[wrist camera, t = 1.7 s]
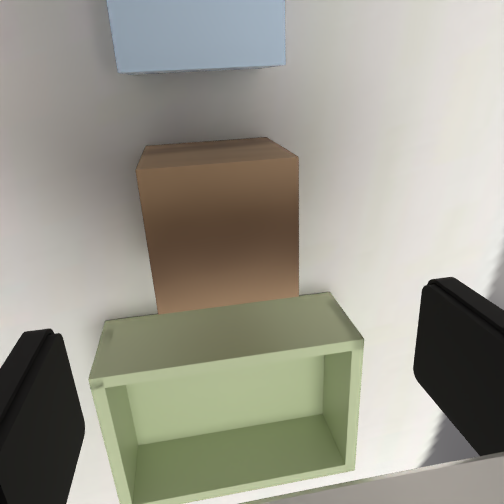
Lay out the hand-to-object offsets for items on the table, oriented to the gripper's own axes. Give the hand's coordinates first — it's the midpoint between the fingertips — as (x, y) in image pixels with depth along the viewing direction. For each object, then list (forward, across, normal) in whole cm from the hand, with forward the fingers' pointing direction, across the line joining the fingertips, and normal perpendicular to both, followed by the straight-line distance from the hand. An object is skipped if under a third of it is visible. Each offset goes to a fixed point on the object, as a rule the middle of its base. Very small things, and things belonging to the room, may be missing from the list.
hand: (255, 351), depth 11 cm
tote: (+13, 0, +10) cm, 16 cm away
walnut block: (+12, 0, -1) cm, 13 cm away
